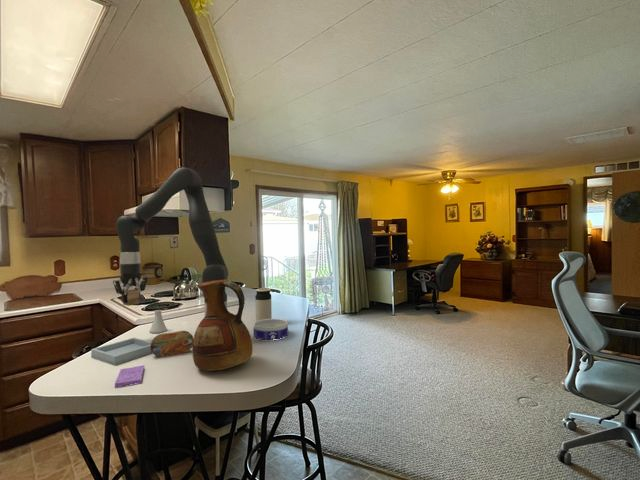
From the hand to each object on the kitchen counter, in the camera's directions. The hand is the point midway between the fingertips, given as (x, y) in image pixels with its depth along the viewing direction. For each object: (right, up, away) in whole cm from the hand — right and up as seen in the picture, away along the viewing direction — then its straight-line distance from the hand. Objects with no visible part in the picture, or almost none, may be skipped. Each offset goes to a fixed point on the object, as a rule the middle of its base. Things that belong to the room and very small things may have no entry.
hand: (131, 302), depth 139 cm
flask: (+4, -17, +16) cm, 24 cm away
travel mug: (+52, -17, +26) cm, 61 cm away
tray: (+6, -17, -14) cm, 23 cm away
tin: (+24, -17, -15) cm, 33 cm away
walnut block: (0, -1, 0) cm, 1 cm away
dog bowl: (+59, -17, +7) cm, 62 cm away
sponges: (+20, -18, -36) cm, 45 cm away
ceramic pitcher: (+47, -17, -27) cm, 57 cm away
